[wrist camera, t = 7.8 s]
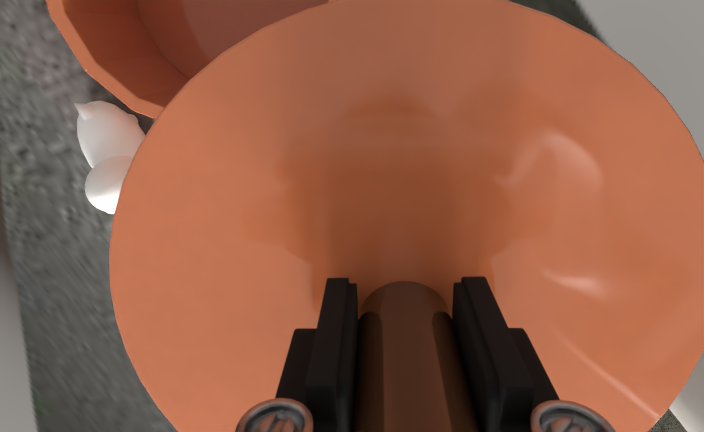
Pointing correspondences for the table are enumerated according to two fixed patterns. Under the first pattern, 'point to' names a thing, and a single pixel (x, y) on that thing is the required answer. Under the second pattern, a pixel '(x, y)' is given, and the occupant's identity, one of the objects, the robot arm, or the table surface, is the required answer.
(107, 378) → the table surface
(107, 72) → the pot
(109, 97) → the table surface
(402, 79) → the lid
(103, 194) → the toy creature
